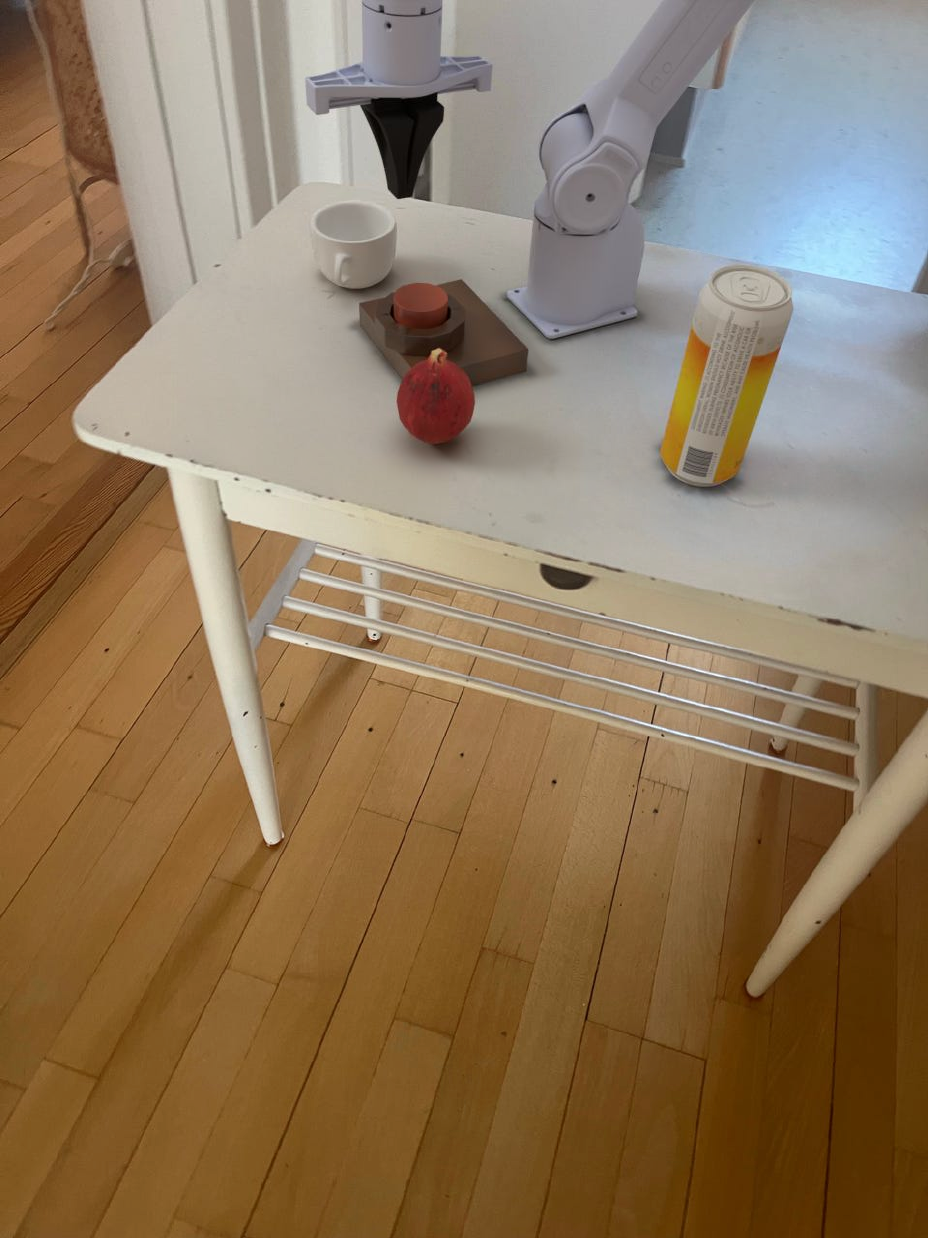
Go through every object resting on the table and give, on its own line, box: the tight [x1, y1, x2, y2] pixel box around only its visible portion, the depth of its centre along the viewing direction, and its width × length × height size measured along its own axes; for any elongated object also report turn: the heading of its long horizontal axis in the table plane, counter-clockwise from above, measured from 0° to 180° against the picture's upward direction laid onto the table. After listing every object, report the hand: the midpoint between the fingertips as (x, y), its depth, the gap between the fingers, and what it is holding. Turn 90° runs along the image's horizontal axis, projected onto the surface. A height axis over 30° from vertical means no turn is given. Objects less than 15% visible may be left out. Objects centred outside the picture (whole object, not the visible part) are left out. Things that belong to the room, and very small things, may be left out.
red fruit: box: [396, 348, 476, 445], centre depth 70 cm, size 6×6×8 cm
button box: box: [358, 278, 529, 387], centre depth 80 cm, size 11×12×4 cm
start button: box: [393, 282, 448, 329], centre depth 78 cm, size 4×4×2 cm
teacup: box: [309, 199, 398, 290], centre depth 86 cm, size 10×8×5 cm
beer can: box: [660, 264, 794, 488], centre depth 67 cm, size 6×6×15 cm
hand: (400, 192), depth 78 cm, fingers closed
